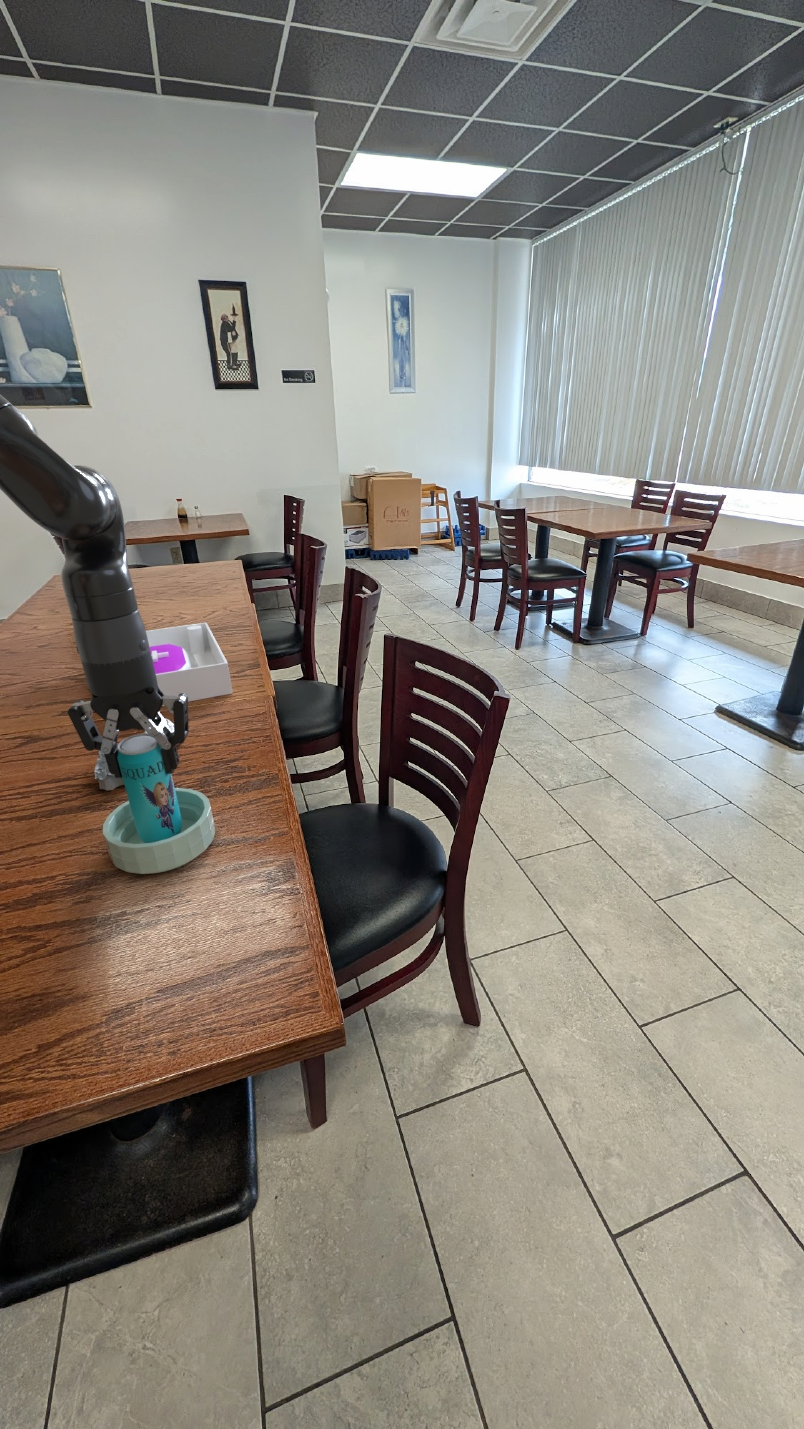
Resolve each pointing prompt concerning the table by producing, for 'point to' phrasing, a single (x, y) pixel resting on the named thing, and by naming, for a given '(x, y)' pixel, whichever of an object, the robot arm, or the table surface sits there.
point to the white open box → (189, 662)
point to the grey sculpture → (106, 774)
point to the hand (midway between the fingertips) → (146, 772)
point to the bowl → (165, 853)
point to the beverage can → (149, 788)
